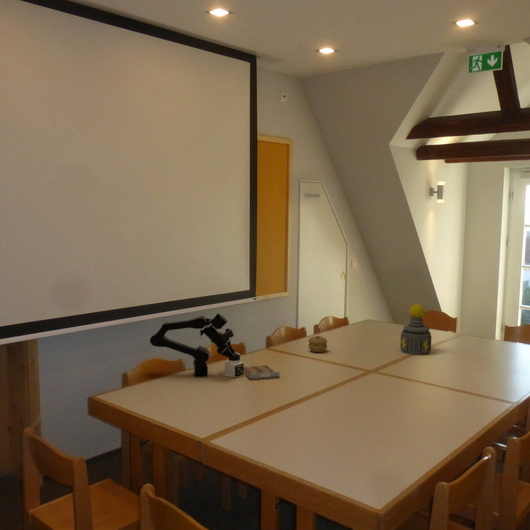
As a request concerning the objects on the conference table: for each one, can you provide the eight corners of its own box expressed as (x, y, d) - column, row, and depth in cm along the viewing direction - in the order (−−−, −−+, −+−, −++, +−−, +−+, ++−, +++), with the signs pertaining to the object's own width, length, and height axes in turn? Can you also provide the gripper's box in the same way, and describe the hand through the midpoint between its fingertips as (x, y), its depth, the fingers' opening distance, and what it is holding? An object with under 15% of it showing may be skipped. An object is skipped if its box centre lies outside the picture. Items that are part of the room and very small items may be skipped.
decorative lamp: (393, 349, 361) (395, 302, 358) (417, 347, 369) (419, 301, 366) (413, 356, 344) (415, 307, 341) (437, 353, 352) (439, 305, 349)
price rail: (250, 378, 292) (250, 374, 292) (249, 377, 294) (249, 374, 294) (279, 376, 297) (279, 372, 297) (278, 375, 299) (278, 371, 299)
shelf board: (250, 380, 292) (250, 378, 292) (238, 369, 313) (238, 367, 313) (279, 378, 297) (279, 376, 297) (266, 367, 318) (266, 365, 318)
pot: (306, 353, 351) (306, 337, 350) (310, 348, 362) (310, 333, 361) (325, 354, 347) (325, 338, 346) (328, 350, 358) (329, 334, 358)
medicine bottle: (234, 378, 296) (235, 355, 295) (224, 375, 301) (224, 353, 299) (243, 375, 302) (243, 353, 301) (233, 373, 306) (233, 351, 305)
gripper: (223, 328, 290) (245, 350, 291) (226, 321, 308) (246, 341, 309) (207, 343, 290) (229, 365, 291) (211, 335, 309) (231, 355, 310)
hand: (234, 356), depth 300 cm, fingers open, 9 cm apart
